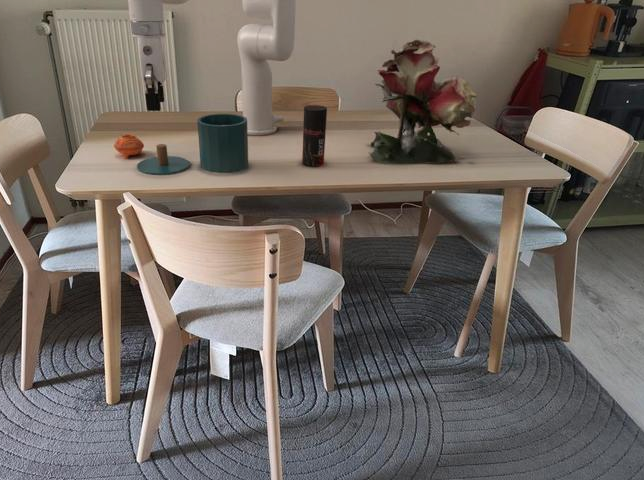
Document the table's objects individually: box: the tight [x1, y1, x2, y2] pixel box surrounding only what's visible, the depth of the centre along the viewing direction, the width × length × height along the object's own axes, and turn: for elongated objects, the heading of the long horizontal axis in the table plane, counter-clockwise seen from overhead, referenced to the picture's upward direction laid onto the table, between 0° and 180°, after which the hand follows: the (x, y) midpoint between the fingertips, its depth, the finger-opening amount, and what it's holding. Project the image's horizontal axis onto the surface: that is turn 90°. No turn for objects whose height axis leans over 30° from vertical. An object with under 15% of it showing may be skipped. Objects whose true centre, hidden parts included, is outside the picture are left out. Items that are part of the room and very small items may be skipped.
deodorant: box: [301, 104, 328, 168], centre depth 133 cm, size 6×6×15 cm
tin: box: [196, 113, 249, 174], centre depth 130 cm, size 13×13×12 cm
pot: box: [113, 133, 145, 160], centre depth 137 cm, size 8×8×7 cm
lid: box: [136, 143, 191, 176], centre depth 130 cm, size 14×14×6 cm
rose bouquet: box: [367, 38, 478, 165], centre depth 141 cm, size 26×29×30 cm
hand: (156, 106), depth 123 cm, fingers open, 9 cm apart
